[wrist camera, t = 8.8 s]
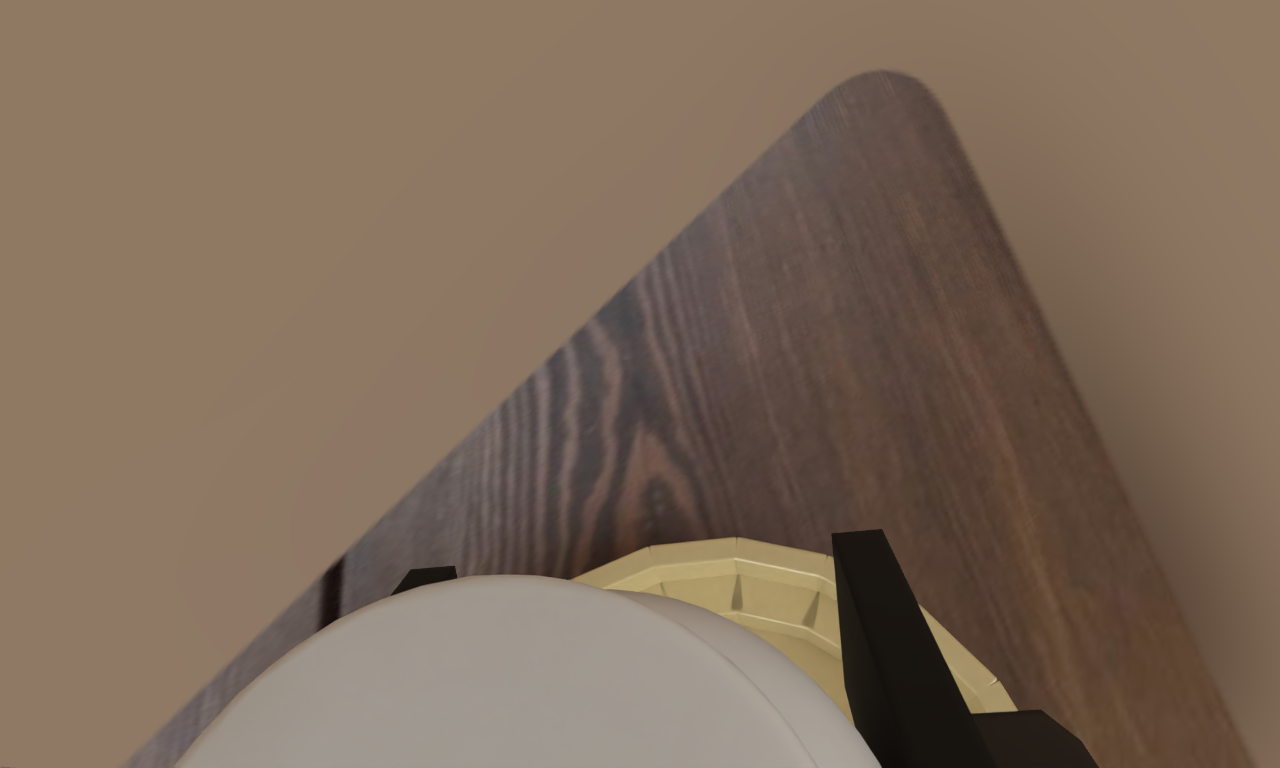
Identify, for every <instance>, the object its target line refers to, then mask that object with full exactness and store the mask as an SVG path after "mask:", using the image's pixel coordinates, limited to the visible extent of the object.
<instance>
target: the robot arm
mask: <svg viewBox="0 0 1280 768" xmlns="http://www.w3.org/2000/svg"><path fill="white" fill-rule="evenodd" d="M831 534H832V545H833V557H834V569H835V581H836V592H837V604H838V616H839V627H840V639H841V651H842V662H843V674H844V686H845V690H846V694H847V698H848V702H849V706H850V710H851V713H852V717H853V721H854V725H855V728H856V729H857V731H858V732H859V733H860V735H861V736H862V738H863V739H864V741H865V742H866V744H867V745H868V747H869V748H870V750H871V751H872V753H873V754H874V756H875V757H876V759H877V760H878V762H879V764H880V765H881V767H882V768H1099V767H1098V766H1097V764H1096V763H1095V761H1094V760H1093V758H1092V756H1091V755H1090V753H1089V752H1088V750H1087V749H1086V747H1085V746H1084V744H1083V743H1082V741H1081V740H1079V739H1078V738H1077V737H1076V736H1074V735H1073V734H1072V733H1070V732H1069V731H1068V730H1066V729H1065V728H1064V727H1063V726H1061V725H1060V724H1059V723H1057V722H1056V721H1055V720H1054V719H1052V718H1051V717H1050V716H1048V715H1047V714H1046V713H1044V712H1043V711H1042V710H1026V711H1008V712H990V713H972V714H971V712H970V710H969V708H968V706H967V704H966V702H965V700H964V698H963V696H962V694H961V692H960V690H959V688H958V686H957V683H956V681H955V679H954V677H953V675H952V673H951V671H950V669H949V667H948V665H947V663H946V661H945V659H944V657H943V654H942V652H941V650H940V648H939V646H938V644H937V642H936V640H935V638H934V636H933V634H932V632H931V630H930V628H929V626H928V623H927V621H926V619H925V617H924V615H923V613H922V611H921V609H920V607H919V605H918V603H917V601H916V599H915V597H914V594H913V592H912V590H911V588H910V586H909V584H908V582H907V580H906V578H905V576H904V574H903V572H902V570H901V568H900V565H899V563H898V561H897V559H896V557H895V555H894V553H893V551H892V549H891V547H890V545H889V543H888V541H887V539H886V537H885V534H884V532H883V530H882V529H878V530H866V531H855V532H843V533H831ZM453 579H457V574H456V570H455V566H446V567H435V568H423V569H411V570H410V571H409V572H408V574H407V575H406V576H405V578H404V579H403V580H402V581H401V583H400V584H399V585H398V587H397V588H396V589H395V590H394V592H393V593H392V594H391V596H393V595H396V594H399V593H402V592H405V591H408V590H411V589H414V588H417V587H420V586H423V585H428V584H433V583H438V582H443V581H448V580H453Z"/></svg>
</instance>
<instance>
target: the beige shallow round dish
mask: <svg viewBox="0 0 1280 768" xmlns="http://www.w3.org/2000/svg"><path fill="white" fill-rule="evenodd" d="M570 581H575V582H579V583H583V584H587V585H591V586H594V587H598V588H601V589H616V590H626V591H635V592H644V593H651V594H656V595H661V596H665V597H670V598H675V599H678V600H681V601H684V602H687V603H690V604H693V605H697V606H699V607H702V608H705V609H707V610H710V611H712V612H714V613H717V614H719V615H721V616H723V617H725V618H727V619H730V620H732V621H734V622H735V623H737V624H739V625H741V626H742V627H744V628H746V629H747V630H749V631H751V632H753V633H754V634H756V635H757V636H759V637H761V638H762V639H764V640H765V641H767V642H768V643H770V644H771V645H773V646H774V647H775V648H777V649H778V650H779V651H781V652H782V653H783V654H784V655H786V656H787V657H788V658H789V659H790V660H792V661H793V662H794V663H795V664H796V665H798V666H799V667H800V668H801V669H802V670H804V671H805V672H806V673H807V674H808V675H809V676H810V677H811V678H812V679H813V680H814V681H815V682H816V683H817V684H818V685H819V686H820V687H821V688H822V689H823V690H824V691H825V692H826V693H827V695H828V696H829V697H830V698H831V699H832V700H833V701H834V702H835V703H836V705H837V706H838V707H839V708H840V710H841V711H842V712H843V713H844V714H845V716H846V717H847V718H848V719H849V721H850V722H851V723H852V724H853V726H854V727H855V725H854V721H853V717H852V713H851V710H850V706H849V702H848V698H847V694H846V690H845V686H844V674H843V662H842V651H841V639H840V627H839V616H838V604H837V592H836V581H835V569H834V558H833V557H831V556H827V555H825V554H822V553H817V552H812V551H807V550H802V549H797V548H792V547H787V546H782V545H777V544H772V543H767V542H762V541H757V540H752V539H747V538H742V537H737V538H736V537H727V538H718V539H708V540H699V541H689V542H680V543H670V544H661V545H652V546H650V547H644V548H642V549H640V550H638V551H635V552H633V553H631V554H628V555H626V556H624V557H621V558H619V559H617V560H614V561H612V562H610V563H607V564H605V565H603V566H600V567H598V568H596V569H593V570H591V571H589V572H586V573H584V574H582V575H580V576H577V577H575V578H573V579H570ZM918 605H919V607H920V609H921V611H922V613H923V615H924V617H925V619H926V621H927V623H928V626H929V628H930V630H931V632H932V634H933V636H934V638H935V640H936V642H937V644H938V646H939V648H940V650H941V652H942V654H943V657H944V659H945V661H946V663H947V665H948V667H949V669H950V671H951V673H952V675H953V677H954V679H955V681H956V683H957V686H958V688H959V690H960V692H961V694H962V696H963V698H964V700H965V702H966V704H967V706H968V708H969V710H970V712H971V714H972V713H990V712H1008V711H1018V710H1017V708H1016V706H1015V705H1014V703H1013V702H1012V700H1011V698H1010V697H1009V695H1008V693H1007V692H1006V690H1005V688H1004V687H1003V685H1002V684H1001V682H1000V681H999V680H997V678H996V677H995V676H994V675H993V674H992V673H991V672H990V671H989V670H988V669H987V668H986V667H985V666H984V665H983V664H982V663H981V662H980V661H979V660H978V659H976V658H975V657H974V656H973V655H972V654H971V653H970V652H969V651H968V650H967V649H966V648H965V647H964V646H963V645H962V644H961V643H960V642H959V641H958V640H957V639H955V638H954V637H953V636H952V635H951V634H950V633H949V632H948V631H947V630H946V629H945V628H944V627H943V626H942V625H941V624H940V623H939V622H938V621H937V620H935V619H934V618H933V617H932V616H931V615H930V614H929V613H928V612H927V611H926V610H925V609H924V608H923V607H922V606H921V605H920V604H918Z"/></svg>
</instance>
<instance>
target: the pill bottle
mask: <svg viewBox="0 0 1280 768" xmlns="http://www.w3.org/2000/svg"><path fill="white" fill-rule="evenodd" d="M173 768H882V767H881V765H880V764H879V762H878V760H877V759H876V757H875V756H874V754H873V753H872V751H871V750H870V748H869V747H868V745H867V744H866V742H865V741H864V739H863V738H862V736H861V735H860V733H859V732H858V731H857V729H856V728H855V727H854V726H853V724H852V723H851V722H850V721H849V719H848V718H847V717H846V716H845V714H844V713H843V712H842V711H841V710H840V708H839V707H838V706H837V705H836V703H835V702H834V701H833V700H832V699H831V698H830V697H829V696H828V695H827V693H826V692H825V691H824V690H823V689H822V688H821V687H820V686H819V685H818V684H817V683H816V682H815V681H814V680H813V679H812V678H811V677H810V676H809V675H808V674H807V673H806V672H805V671H804V670H802V669H801V668H800V667H799V666H798V665H796V664H795V663H794V662H793V661H792V660H790V659H789V658H788V657H787V656H786V655H784V654H783V653H782V652H781V651H779V650H778V649H777V648H775V647H774V646H773V645H771V644H770V643H768V642H767V641H765V640H764V639H762V638H761V637H759V636H757V635H756V634H754V633H753V632H751V631H749V630H747V629H746V628H744V627H742V626H741V625H739V624H737V623H735V622H734V621H732V620H730V619H727V618H725V617H723V616H721V615H719V614H717V613H714V612H712V611H710V610H707V609H705V608H702V607H699V606H697V605H693V604H690V603H687V602H684V601H681V600H678V599H675V598H670V597H665V596H661V595H656V594H651V593H644V592H635V591H626V590H616V589H601V588H598V587H594V586H591V585H587V584H583V583H579V582H575V581H570V580H566V579H559V578H552V577H545V576H536V575H476V576H468V577H463V578H458V579H453V580H448V581H443V582H438V583H433V584H428V585H423V586H420V587H417V588H414V589H411V590H408V591H405V592H402V593H399V594H396V595H393V596H390V597H387V598H384V599H381V600H379V601H376V602H374V603H372V604H369V605H367V606H365V607H363V608H360V609H358V610H356V611H354V612H352V613H350V614H348V615H346V616H344V617H342V618H340V619H338V620H336V621H334V622H333V623H331V624H330V625H328V626H326V627H325V628H323V629H322V630H320V631H319V632H317V633H315V634H314V635H312V636H311V637H309V638H308V639H306V640H305V641H303V642H301V643H300V644H298V645H297V646H296V647H294V648H293V649H292V650H290V651H289V652H288V653H286V654H285V655H284V656H282V657H281V658H280V659H278V660H277V661H276V662H274V663H273V664H272V665H271V666H270V667H268V668H267V669H266V670H265V671H264V672H263V673H261V674H260V675H259V676H258V677H257V678H256V679H254V680H253V681H252V682H251V683H250V684H249V685H248V686H246V687H245V688H244V689H243V690H242V691H241V692H240V693H238V694H237V695H236V696H235V697H234V698H233V700H232V701H231V702H230V703H229V704H228V705H227V706H226V707H225V708H224V709H223V710H222V711H221V712H220V713H219V714H218V716H217V717H216V718H215V719H214V720H213V721H212V722H211V723H210V724H209V725H208V726H207V727H206V728H205V729H204V731H203V732H202V733H201V734H200V735H199V736H198V737H197V739H196V740H195V741H194V742H193V743H192V745H191V746H190V747H189V748H188V749H187V751H186V752H185V753H184V754H183V755H182V757H181V758H180V759H179V760H178V761H177V763H176V764H175V766H174V767H173Z"/></svg>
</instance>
